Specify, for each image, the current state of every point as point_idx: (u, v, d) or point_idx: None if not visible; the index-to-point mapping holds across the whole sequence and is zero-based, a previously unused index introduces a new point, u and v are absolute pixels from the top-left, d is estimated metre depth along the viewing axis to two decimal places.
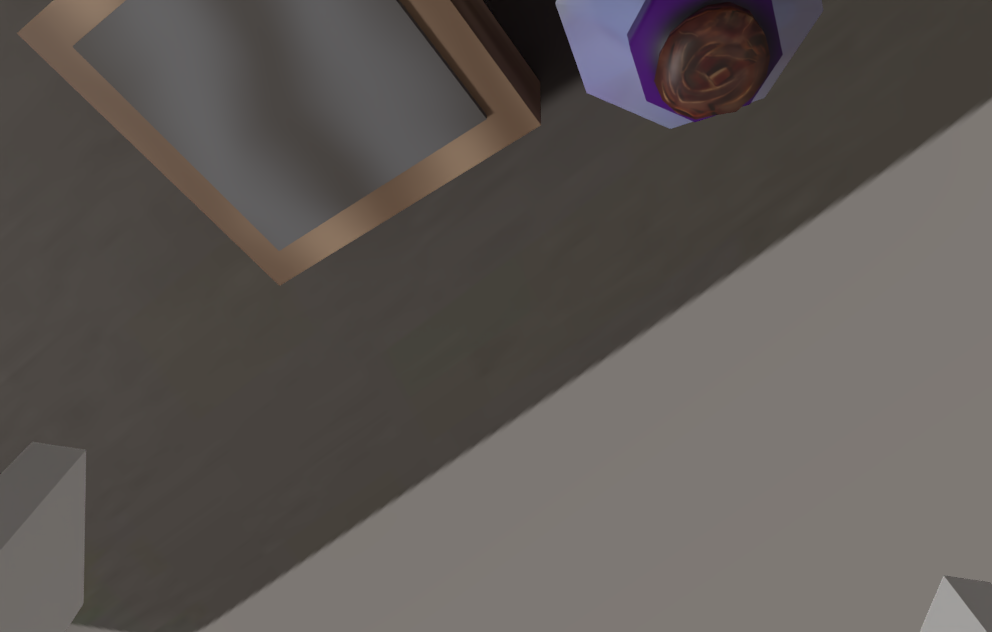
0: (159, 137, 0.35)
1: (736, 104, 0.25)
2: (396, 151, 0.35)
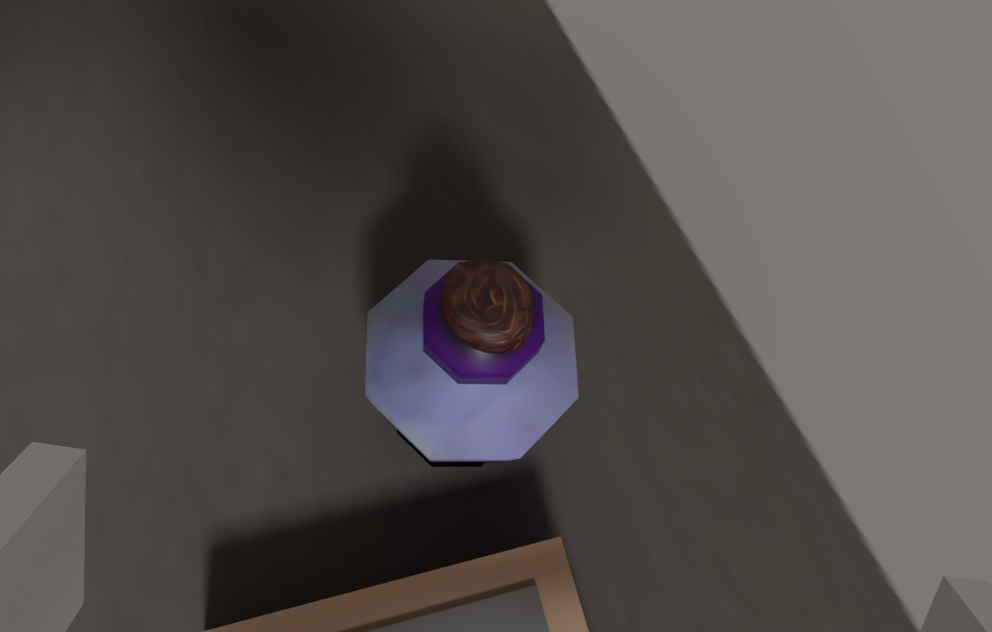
0: None
1: (525, 290, 0.29)
2: None
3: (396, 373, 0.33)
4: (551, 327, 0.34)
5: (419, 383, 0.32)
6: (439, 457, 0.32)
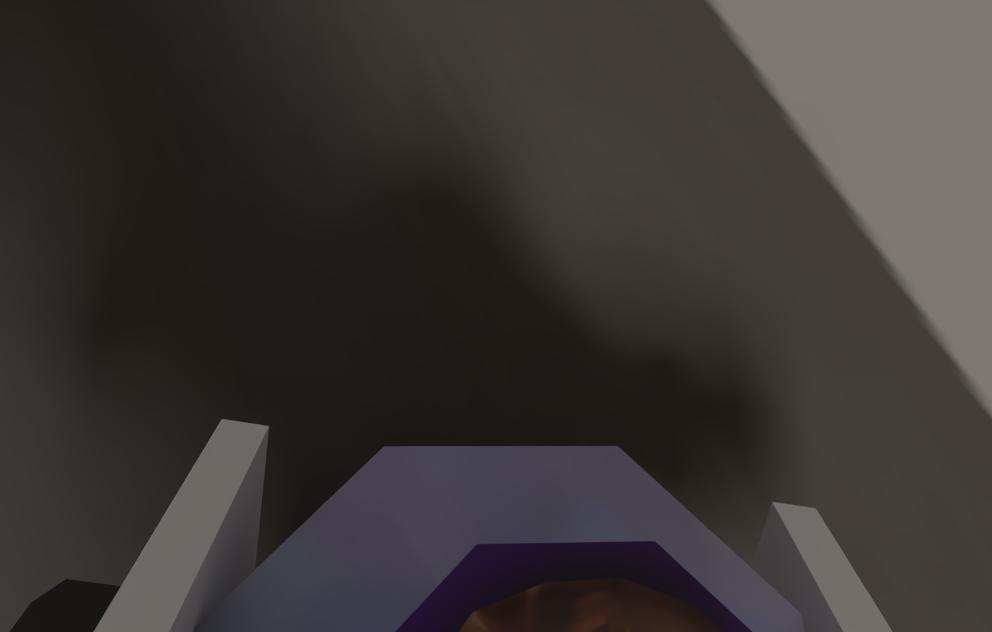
0: None
1: None
2: None
3: None
4: None
5: None
6: None
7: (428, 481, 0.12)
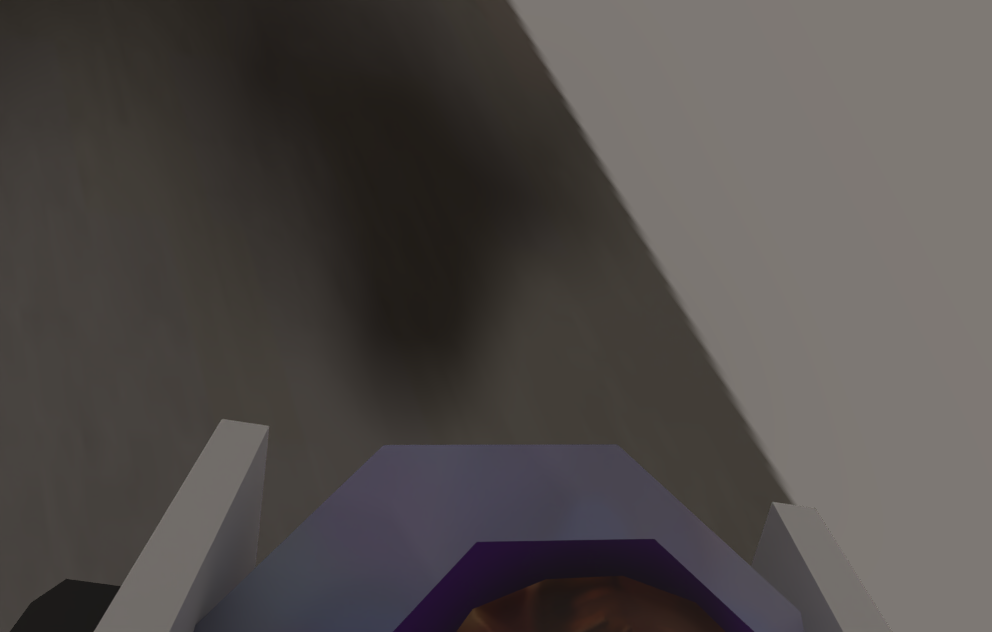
0: None
1: None
2: None
3: None
4: None
5: None
6: None
7: (428, 480, 0.12)
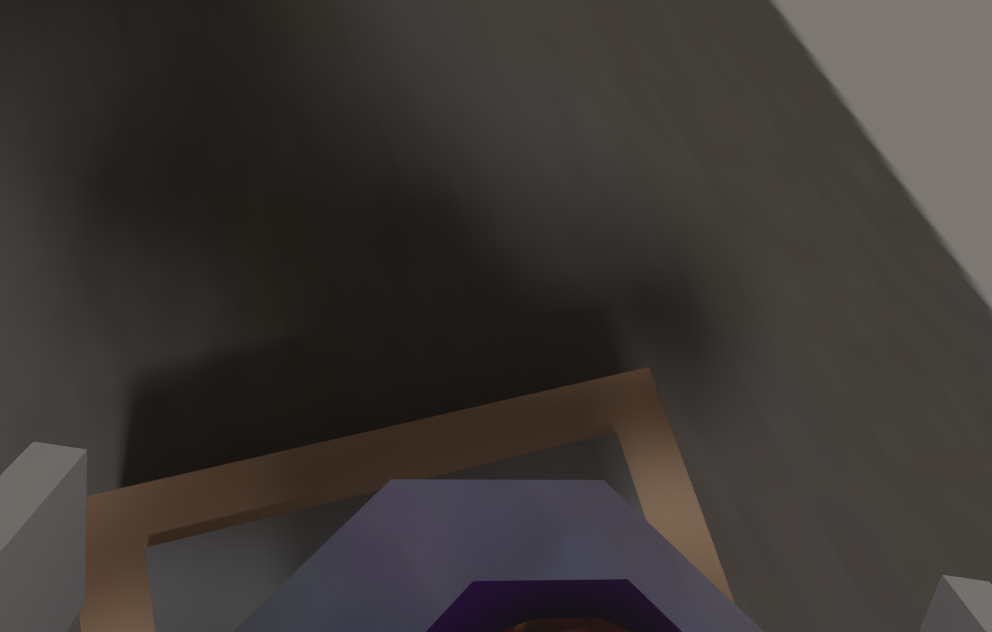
0: None
1: None
2: None
3: None
4: None
5: None
6: None
7: (431, 512, 0.13)
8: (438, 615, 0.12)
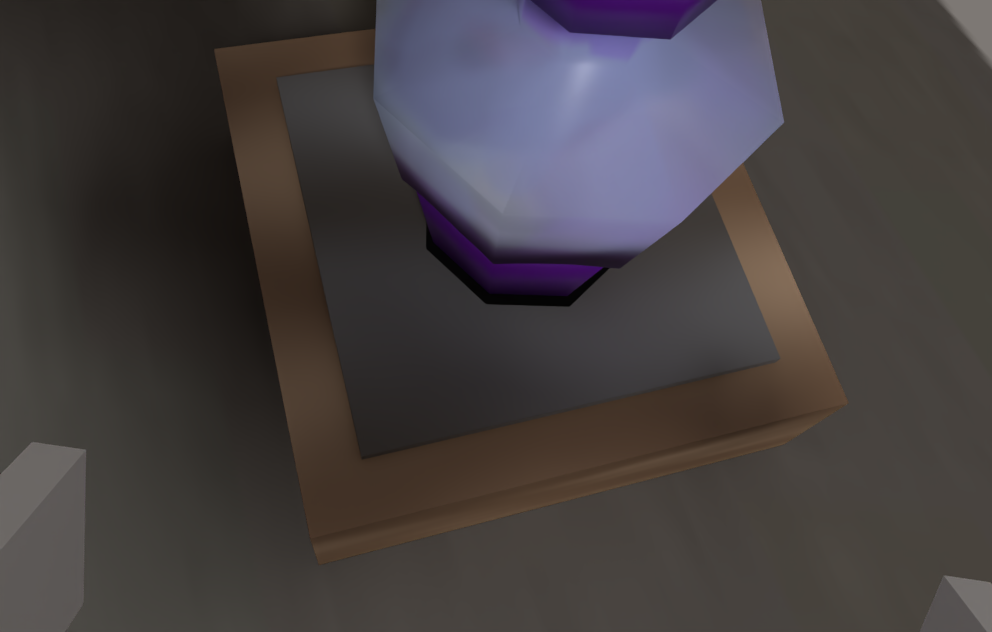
0: (543, 431, 0.22)
1: None
2: None
3: (435, 55, 0.17)
4: None
5: (481, 72, 0.16)
6: (522, 214, 0.16)
7: None
8: None
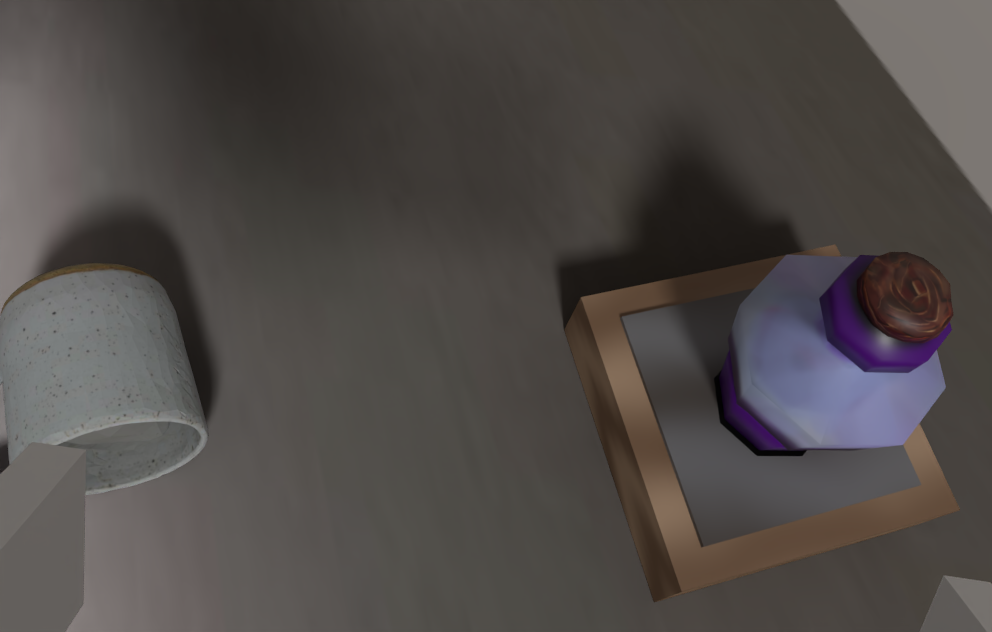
0: (794, 529, 0.39)
1: (944, 282, 0.31)
2: None
3: (780, 362, 0.34)
4: None
5: (805, 372, 0.34)
6: (828, 443, 0.33)
7: (804, 264, 0.36)
8: (817, 293, 0.35)
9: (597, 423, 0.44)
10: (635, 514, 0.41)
